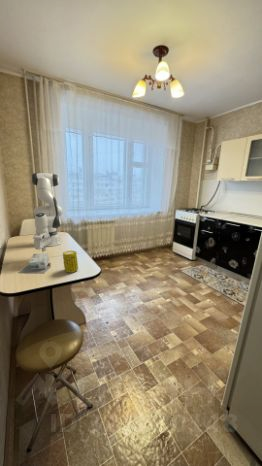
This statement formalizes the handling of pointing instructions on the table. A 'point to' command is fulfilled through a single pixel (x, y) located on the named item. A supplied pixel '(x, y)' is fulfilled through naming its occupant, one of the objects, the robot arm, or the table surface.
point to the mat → (28, 270)
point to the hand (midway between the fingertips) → (44, 251)
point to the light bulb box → (39, 261)
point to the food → (70, 261)
